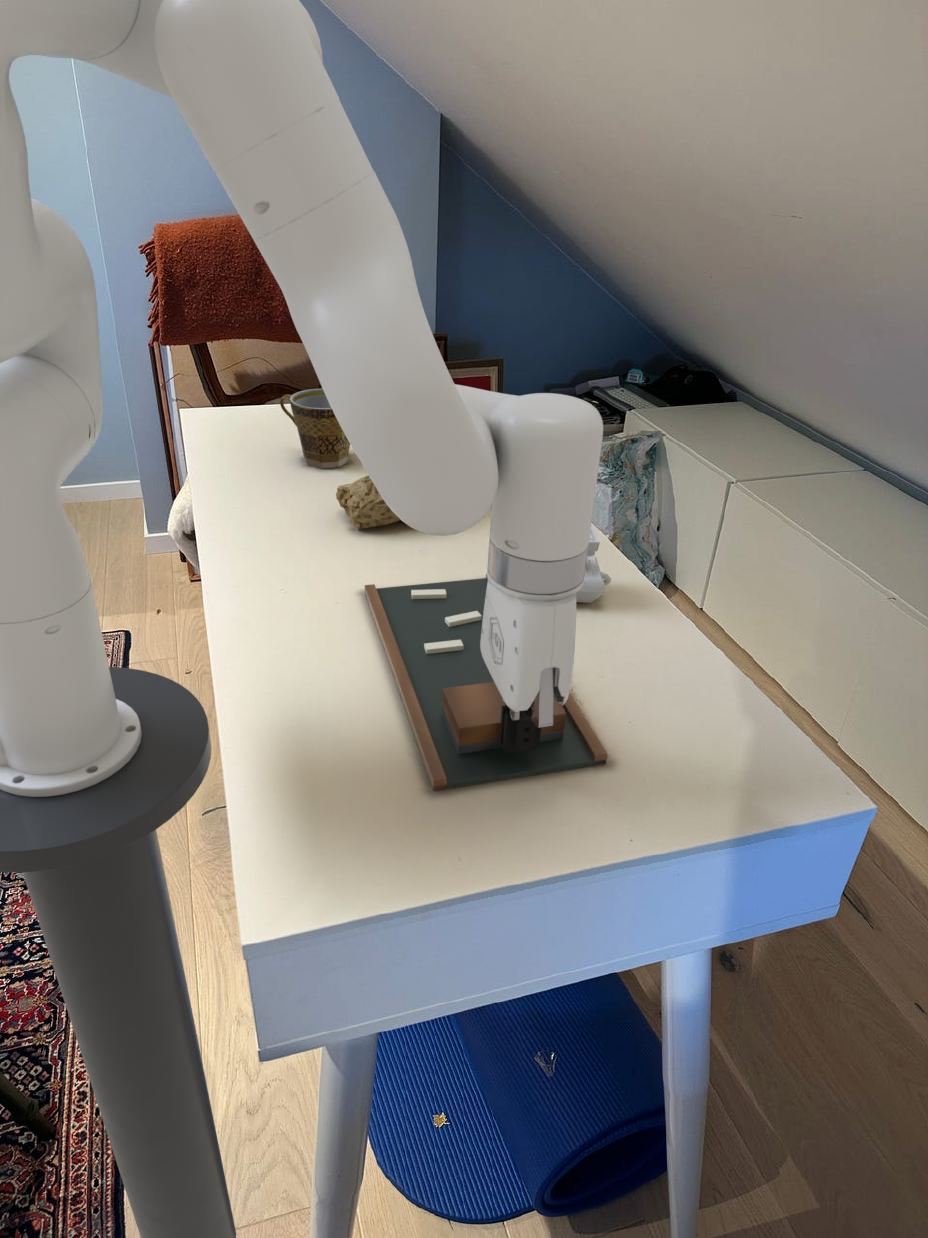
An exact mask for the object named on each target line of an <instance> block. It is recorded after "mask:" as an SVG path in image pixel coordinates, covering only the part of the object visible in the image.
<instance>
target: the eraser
mask: <svg viewBox="0 0 928 1238" xmlns="http://www.w3.org/2000/svg"><path fill="white" fill-rule="evenodd" d="M502 706H506V704H504V703H503V701H502V696H501V694H500V692H499V690H498V688H497V686H496V684H495V682H489V683H481V684H473V685H466V686H458V687H450V688H443V695H442V715H443V718H444V720H445V723H446V725H447V728H448V730H449V733H450V735H451V738H452V740H453V742H454V745H455V747H456V750H457V752H458V754H464V753H470V752H477V751H484V750H491V749H497V748H503V745H502V744H501V742H500V740H499V735H500V723H501V710H502ZM565 719H566V712H565V710H564V709H563V707H562V706H560V705H559V704H558V703H557V702H556V701H555V699H554V705H553V726H548V727H541V736H540V742H544V741H551V740H558V739H563V733H564V726H565Z"/></svg>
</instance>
